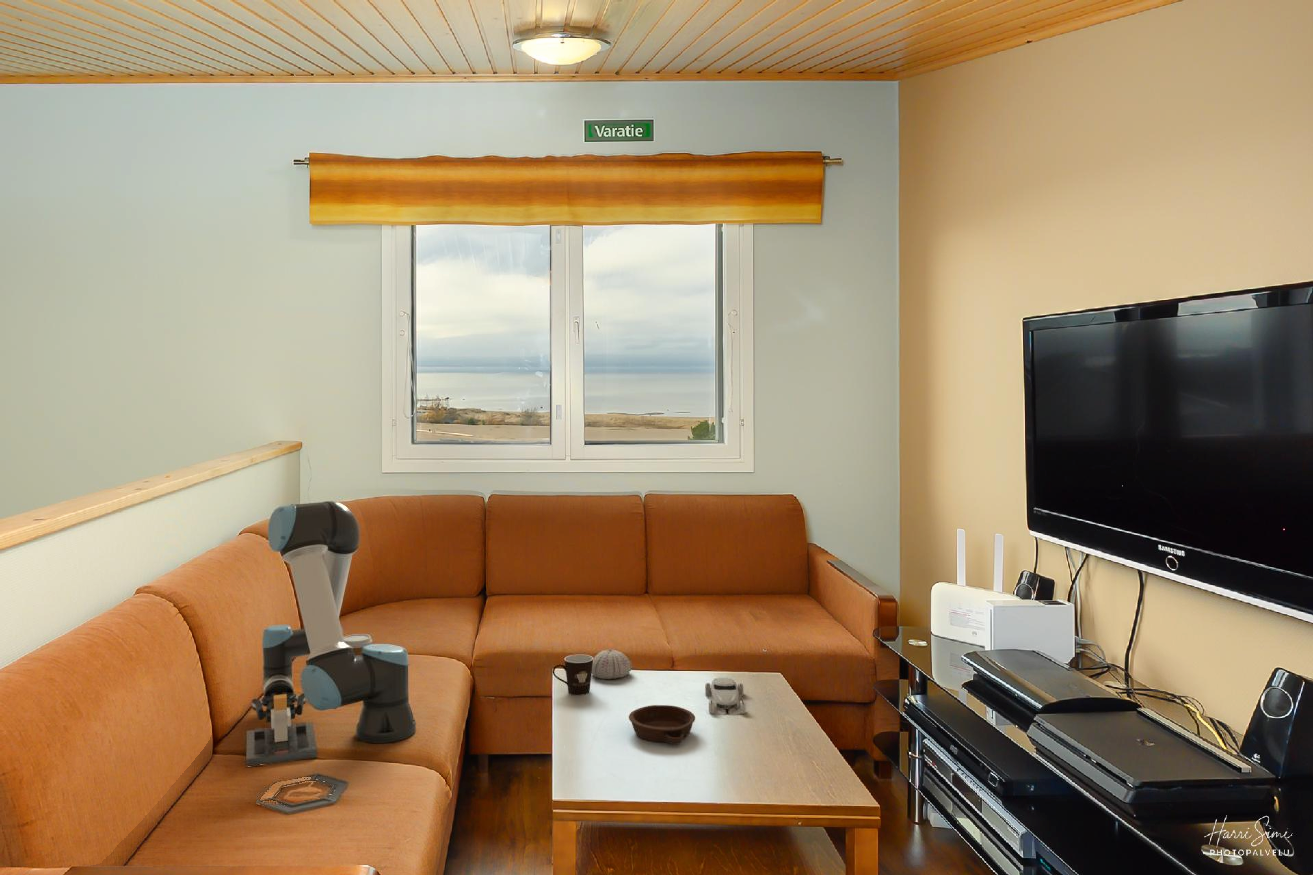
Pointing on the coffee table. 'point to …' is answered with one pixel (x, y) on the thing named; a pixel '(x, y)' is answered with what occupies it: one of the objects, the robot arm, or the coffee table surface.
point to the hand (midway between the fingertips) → (281, 721)
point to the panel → (280, 745)
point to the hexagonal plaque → (291, 808)
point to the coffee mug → (577, 673)
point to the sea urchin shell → (610, 665)
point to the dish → (662, 723)
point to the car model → (725, 697)
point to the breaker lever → (280, 718)
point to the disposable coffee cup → (358, 642)
